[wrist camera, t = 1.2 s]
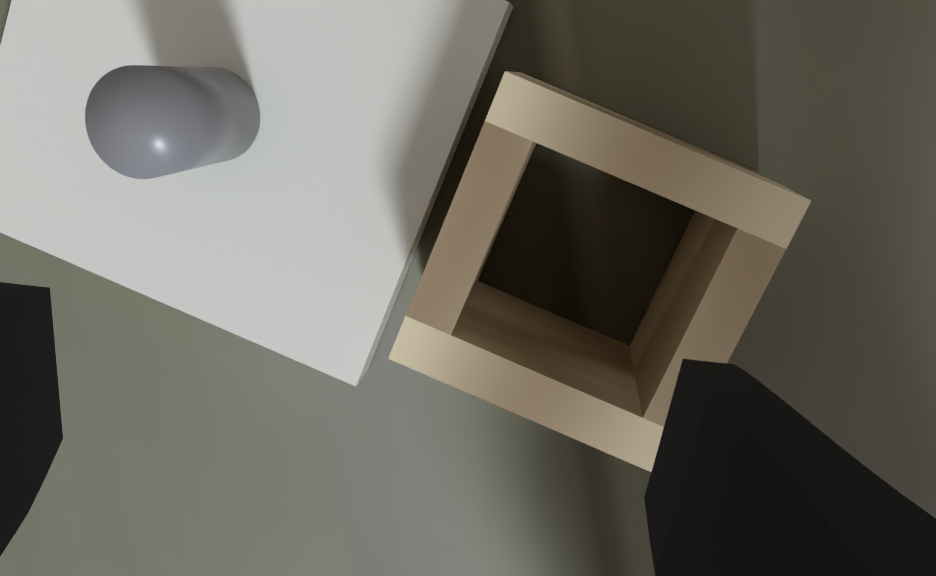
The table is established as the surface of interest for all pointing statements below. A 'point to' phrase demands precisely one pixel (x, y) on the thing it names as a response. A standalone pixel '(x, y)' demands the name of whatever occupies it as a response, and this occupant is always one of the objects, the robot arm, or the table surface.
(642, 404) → the collar
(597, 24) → the table surface
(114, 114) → the pin block
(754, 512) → the robot arm
